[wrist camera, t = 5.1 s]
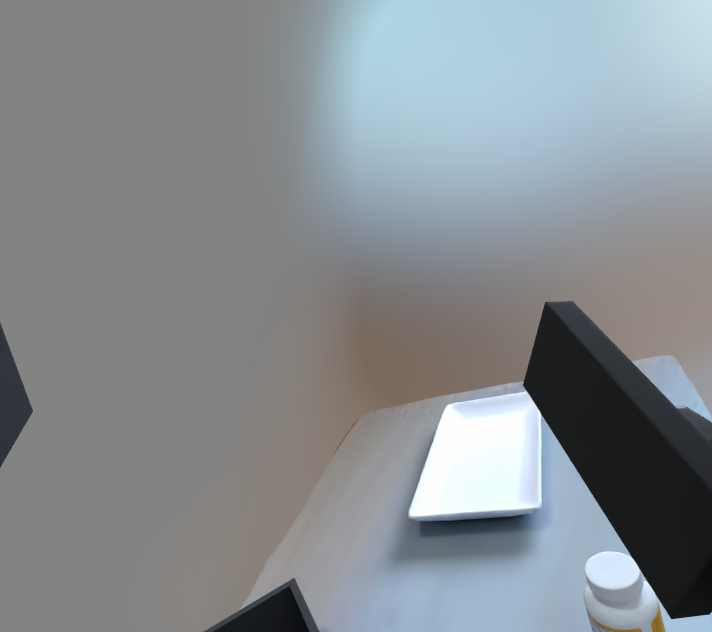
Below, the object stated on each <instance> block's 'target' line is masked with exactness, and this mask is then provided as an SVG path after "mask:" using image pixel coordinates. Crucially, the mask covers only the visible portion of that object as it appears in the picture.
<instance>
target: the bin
mask: <svg viewBox="0 0 712 632" xmlns="http://www.w3.org/2000/svg"><path fill="white" fill-rule="evenodd" d="M204 632H319V630H318V628H317V626H316V623H315V621H314V619H313V617H312V615H311V613H310V611H309V608H308V606H307V604H306V602H305V600H304V598H303V595H302V593H301V591H300V589H299V587H298V585H297V582H296V580H295V578H293V579H291V580H290V581H288V582H286V583H285V584H283V585H281V586H280V587H278V588H276V589H275V590H273V591H271V592H270V593H268V594H266V595H265V596H263V597H261V598H260V599H258V600H256V601H255V602H253V603H251V604H249V605H248V606H246V607H244V608H243V609H241V610H239V611H238V612H236V613H234V614H233V615H231V616H229V617H228V618H226V619H224V620H223V621H221V622H219V623H218V624H216V625H214V626H213V627H211V628H209V629H208V630H206V631H204Z"/></svg>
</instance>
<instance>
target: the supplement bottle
mask: <svg viewBox="0 0 712 632" xmlns="http://www.w3.org/2000/svg"><path fill="white" fill-rule="evenodd" d="M585 575H586V579H587V583H588V584H587V586H586V588H585V591H584V602H585V606H586V610H587V614H588V617H589V620H590V624H591V627H592V630H593V632H665V628H664V624H663V620H662V616H661V612H660V608H659V604H658V600H657V597H656V595H655V593H654V591H653V589H652V588H651V587H650V585H649V584H648V583H647V582H646V581H644V580H643V578H642V575H641V572H640V569H639V567H638V566H637V564H636V562H635V561H634V560H633V559H632V558H631V557H629V556H627V555H625V554H622V553H619V552H602V553H598V554H596V555H594V556H593V557H591V558H590V559H589V560H588V561H587V563H586V565H585Z"/></svg>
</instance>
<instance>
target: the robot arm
mask: <svg viewBox="0 0 712 632" xmlns="http://www.w3.org/2000/svg"><path fill="white" fill-rule="evenodd" d="M523 386H524V388H525V389H526V391H527V392H528V394H529V395H530V397H531V399H532V400H533V402H534V403H535V405H536V406H537V408H538V410H539V411H540V413H541V414H542V416H543V417H544V419H545V421H546V422H547V424H548V425H549V427H550V429H551V430H552V432H553V433H554V435H555V436H556V438H557V440H558V441H559V443H560V444H561V446H562V447H563V449H564V451H565V452H566V454H567V455H568V457H569V458H570V460H571V462H572V463H573V465H574V466H575V468H576V469H577V471H578V473H579V474H580V476H581V477H582V479H583V481H584V482H585V484H586V485H587V487H588V488H589V490H590V492H591V493H592V495H593V496H594V498H595V499H596V501H597V503H598V504H599V506H600V507H601V509H602V510H603V512H604V514H605V515H606V517H607V518H608V520H609V521H610V523H611V525H612V526H613V528H614V529H615V531H616V533H617V534H618V536H619V537H620V539H621V540H622V542H623V544H624V545H625V547H626V548H627V550H628V551H629V553H630V555H631V556H632V558H633V559H634V561H635V562H636V564H637V566H638V567H639V569H640V570H641V572H642V573H643V575H644V577H645V578H646V580H647V581H648V583H649V585H650V586H651V588H652V589H653V591H654V592H655V594H656V596H657V597H658V599H659V600H660V602H661V603H662V605H663V607H664V608H665V610H666V611H667V613H668V614H669V616H670V618H671V619H676V618H684V617H692V616H701V615H709V614H710V613H711V612H712V423H711V422H710V421H709V420H707V419H705V418H704V417H702V416H701V415H699V414H697V413H696V412H694V411H693V410H691V409H689V408H688V407H686V406H674V405H673V404H672V403H671V402H670V401H669V400H668V399H667V398H666V397H665V396H664V395H663V394H662V393H661V392H660V391H659V390H658V389H657V387H656V386H655V385H654V384H653V383H652V382H651V381H650V380H649V379H648V378H647V377H646V376H645V375H644V374H643V373H642V372H641V371H640V370H639V369H638V368H637V367H636V366H635V365H634V364H633V363H632V362H631V361H630V360H629V359H628V358H627V357H626V356H625V355H624V354H623V353H622V351H621V350H620V349H619V348H618V347H617V346H616V345H615V344H614V343H613V342H612V341H611V340H610V339H609V338H608V337H607V336H606V335H605V334H604V333H603V332H602V331H601V330H600V329H599V328H598V327H597V326H596V325H595V324H594V323H593V322H592V321H591V320H590V319H589V317H588V316H587V315H586V314H585V313H584V312H583V311H582V310H581V309H580V308H579V307H578V306H577V305H576V304H575V303H574V302H573V301H566V302H545V305H544V309H543V313H542V316H541V320H540V324H539V327H538V331H537V335H536V339H535V343H534V346H533V350H532V354H531V357H530V361H529V365H528V369H527V372H526V376H525V380H524V383H523ZM32 412H33V410H32V407H31V405H30V402H29V399H28V397H27V394H26V392H25V389H24V386H23V383H22V380H21V378H20V375H19V372H18V370H17V367H16V364H15V362H14V359H13V356H12V354H11V351H10V348H9V345H8V343H7V340H6V337H5V335H4V332H3V329H2V327H1V324H0V467H1V465H2V463H3V462H4V460H5V458H6V457H7V455H8V453H9V451H10V450H11V448H12V446H13V445H14V443H15V441H16V439H17V438H18V436H19V434H20V433H21V431H22V429H23V427H24V426H25V424H26V422H27V420H28V419H29V417H30V415H31V414H32Z"/></svg>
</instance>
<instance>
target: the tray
mask: <svg viewBox="0 0 712 632" xmlns="http://www.w3.org/2000/svg"><path fill="white" fill-rule="evenodd" d="M541 506H542V456H541V413H540V411H539V410H538V408H537V406H536V405H535V403H534V402H533V400H532V399H531V397H530V395H529V394H528V392H521V393H515V394H509V395H503V396H496V397H490V398H484V399H478V400H472V401H466V402H459V403H453V404H449V405H448V406H447V407H446V408H445V410H444V412H443V414H442V417H441V420H440V423H439V425H438V428H437V431H436V434H435V437H434V439H433V442H432V445H431V448H430V451H429V454H428V457H427V460H426V463H425V465H424V468H423V471H422V474H421V477H420V480H419V483H418V486H417V489H416V492H415V494H414V497H413V500H412V503H411V505H410V508H409V511H408V518H409V519H411V520H417V521H437V520H443V521H453V520H468V519H482V518H496V517H510V516H517V515H522V514H528V513H532V512H536V511H538V510H539V509H540V508H541Z"/></svg>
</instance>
